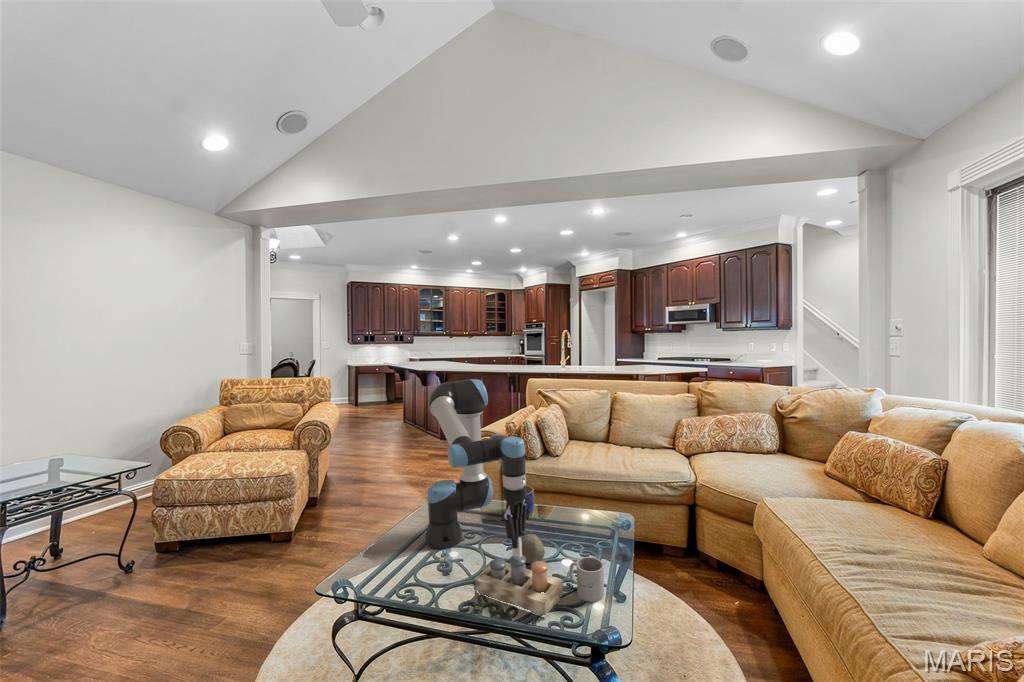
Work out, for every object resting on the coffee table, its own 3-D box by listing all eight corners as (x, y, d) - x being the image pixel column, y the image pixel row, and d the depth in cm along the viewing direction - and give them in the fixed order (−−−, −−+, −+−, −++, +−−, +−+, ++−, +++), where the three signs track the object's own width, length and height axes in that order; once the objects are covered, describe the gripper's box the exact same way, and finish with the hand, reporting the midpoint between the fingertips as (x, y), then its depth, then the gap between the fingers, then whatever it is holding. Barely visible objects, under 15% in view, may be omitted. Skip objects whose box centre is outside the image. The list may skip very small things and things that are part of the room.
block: (475, 593, 150) (474, 579, 150) (496, 572, 161) (496, 559, 161) (545, 618, 136) (544, 603, 136) (563, 594, 148) (562, 579, 147)
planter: (505, 514, 205) (504, 491, 204) (521, 506, 213) (520, 483, 212) (524, 521, 198) (523, 496, 197) (539, 512, 206) (538, 488, 205)
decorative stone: (515, 558, 169) (514, 533, 169) (534, 552, 173) (534, 527, 172) (528, 572, 160) (527, 546, 159) (548, 565, 164) (547, 539, 163)
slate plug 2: (507, 581, 147) (506, 561, 147) (515, 572, 152) (514, 553, 151) (521, 586, 145) (520, 565, 144) (529, 577, 149) (528, 557, 149)
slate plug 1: (487, 585, 152) (486, 565, 151) (496, 576, 156) (495, 557, 156) (500, 589, 149) (500, 569, 148) (509, 580, 154) (508, 561, 153)
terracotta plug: (528, 588, 143) (527, 567, 143) (536, 579, 148) (535, 559, 147) (543, 593, 140) (542, 572, 140) (551, 584, 145) (550, 563, 145)
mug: (609, 594, 147) (609, 565, 146) (590, 605, 142) (589, 575, 141) (583, 576, 157) (582, 549, 156) (564, 586, 152) (563, 558, 151)
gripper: (514, 495, 138) (517, 569, 140) (534, 480, 149) (536, 549, 151) (493, 491, 142) (497, 562, 144) (514, 477, 153) (517, 543, 155)
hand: (517, 555), depth 148 cm, fingers closed
